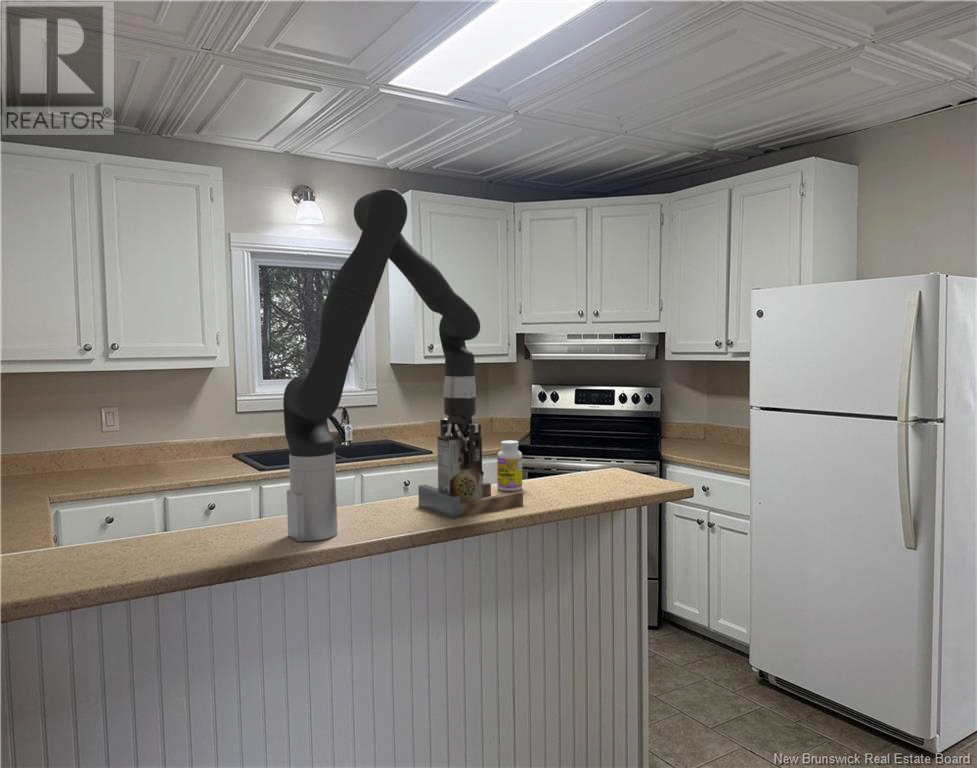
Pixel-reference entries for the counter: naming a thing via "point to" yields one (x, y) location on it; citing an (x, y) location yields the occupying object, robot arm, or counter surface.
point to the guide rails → (490, 502)
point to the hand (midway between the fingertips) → (460, 464)
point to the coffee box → (459, 469)
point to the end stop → (439, 501)
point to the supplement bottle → (509, 466)
